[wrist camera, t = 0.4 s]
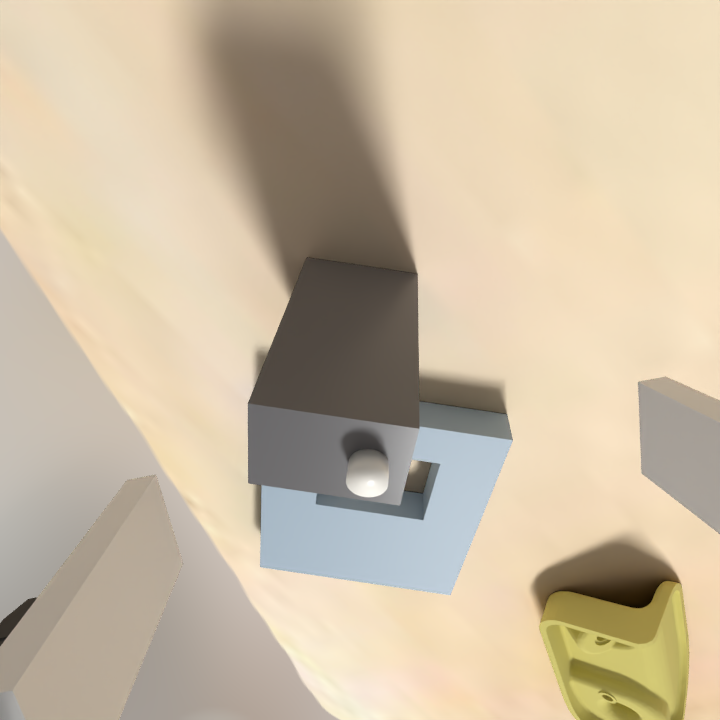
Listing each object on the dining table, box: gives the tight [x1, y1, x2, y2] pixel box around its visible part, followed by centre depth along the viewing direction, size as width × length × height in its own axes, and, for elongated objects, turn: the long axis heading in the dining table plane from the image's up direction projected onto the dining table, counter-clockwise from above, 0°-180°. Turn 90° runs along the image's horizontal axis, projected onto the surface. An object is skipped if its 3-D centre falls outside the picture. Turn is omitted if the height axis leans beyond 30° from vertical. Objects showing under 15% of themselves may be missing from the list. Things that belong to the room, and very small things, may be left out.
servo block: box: [248, 257, 420, 506], centre depth 26 cm, size 4×6×14 cm
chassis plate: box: [260, 401, 513, 595], centre depth 39 cm, size 18×16×2 cm
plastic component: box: [539, 581, 689, 720], centre depth 48 cm, size 20×7×10 cm
